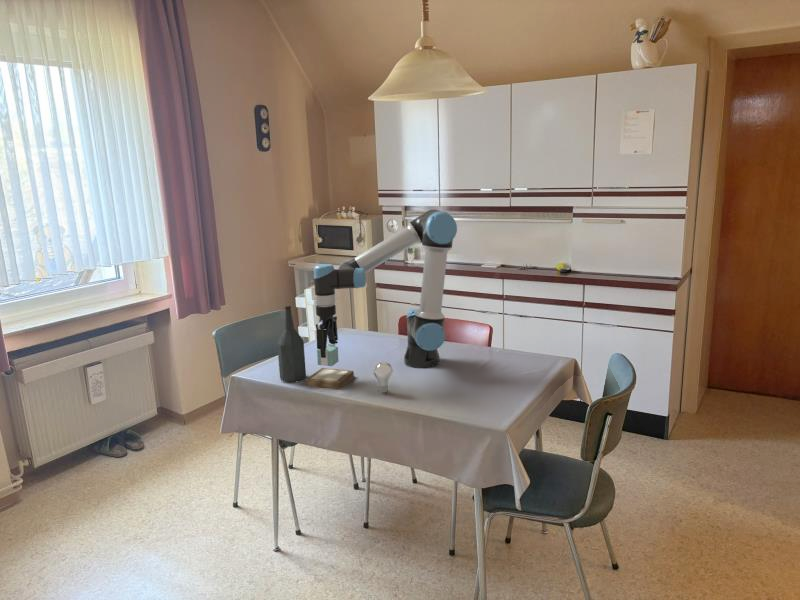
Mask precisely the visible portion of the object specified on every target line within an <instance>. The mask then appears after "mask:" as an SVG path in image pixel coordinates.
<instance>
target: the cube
mask: <svg viewBox="0 0 800 600" xmlns="http://www.w3.org/2000/svg"><path fill="white" fill-rule="evenodd" d="M326 349H328V366H327V367H333V366H335V365H336V364H338V363H339V347H338V346H335V347H333V346H328V345H327V346H326ZM316 352H317V353H316V354H317V355H316V356H317V365H318V366H322V365H321V351H320V349H316ZM323 366H325V365H323Z"/></svg>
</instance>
